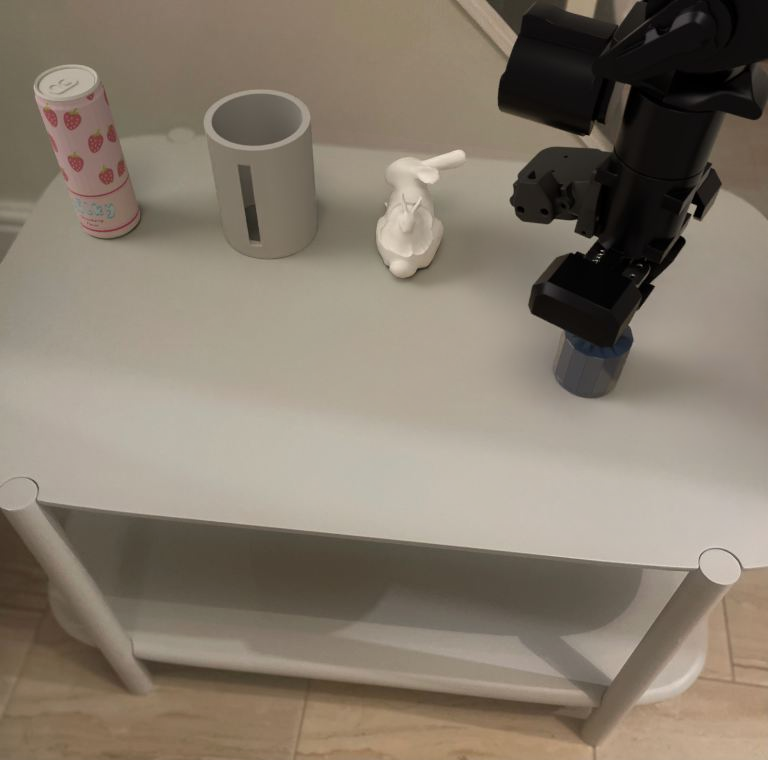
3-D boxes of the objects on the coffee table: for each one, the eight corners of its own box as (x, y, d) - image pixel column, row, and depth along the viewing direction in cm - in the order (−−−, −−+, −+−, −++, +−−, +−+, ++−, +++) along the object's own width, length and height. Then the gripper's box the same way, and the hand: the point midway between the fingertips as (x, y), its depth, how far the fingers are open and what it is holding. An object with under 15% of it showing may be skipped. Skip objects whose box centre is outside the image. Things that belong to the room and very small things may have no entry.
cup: (306, 190, 81) (298, 83, 72) (326, 249, 76) (320, 141, 66) (217, 205, 79) (197, 97, 70) (231, 266, 74) (211, 157, 65)
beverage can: (72, 237, 76) (19, 96, 64) (94, 200, 80) (46, 59, 68) (130, 243, 76) (86, 102, 64) (148, 205, 79) (110, 65, 67)
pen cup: (593, 340, 69) (607, 300, 65) (631, 386, 66) (647, 346, 62) (540, 359, 67) (551, 319, 63) (576, 407, 64) (589, 368, 60)
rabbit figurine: (384, 201, 80) (386, 117, 73) (459, 207, 80) (469, 123, 72) (370, 284, 73) (370, 200, 65) (452, 292, 72) (462, 208, 65)
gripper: (607, 49, 57) (565, 218, 69) (472, 179, 47) (450, 349, 60) (758, 101, 53) (685, 271, 65) (644, 254, 44) (584, 419, 56)
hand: (602, 322), depth 62 cm, fingers closed
